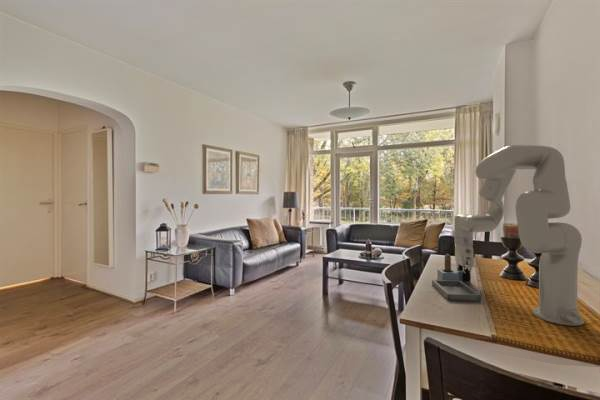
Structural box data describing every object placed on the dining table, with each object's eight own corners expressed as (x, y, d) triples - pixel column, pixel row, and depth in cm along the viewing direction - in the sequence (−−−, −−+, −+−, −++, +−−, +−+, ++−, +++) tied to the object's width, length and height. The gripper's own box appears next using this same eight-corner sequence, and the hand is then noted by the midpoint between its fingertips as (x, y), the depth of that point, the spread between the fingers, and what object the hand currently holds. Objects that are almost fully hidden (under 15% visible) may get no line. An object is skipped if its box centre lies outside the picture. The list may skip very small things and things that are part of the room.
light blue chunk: (472, 284, 132) (472, 273, 132) (442, 283, 134) (442, 272, 134) (466, 279, 139) (466, 269, 139) (437, 279, 141) (437, 268, 141)
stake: (452, 282, 135) (451, 255, 135) (446, 282, 135) (446, 255, 135) (449, 280, 138) (449, 253, 138) (443, 280, 139) (443, 253, 138)
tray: (480, 301, 111) (480, 295, 111) (447, 300, 113) (447, 294, 113) (460, 286, 130) (460, 280, 130) (432, 285, 132) (432, 279, 132)
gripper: (481, 244, 127) (481, 285, 127) (464, 238, 144) (464, 274, 144) (462, 244, 128) (462, 285, 128) (448, 238, 145) (448, 274, 145)
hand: (463, 279), depth 136 cm, fingers open, 5 cm apart
